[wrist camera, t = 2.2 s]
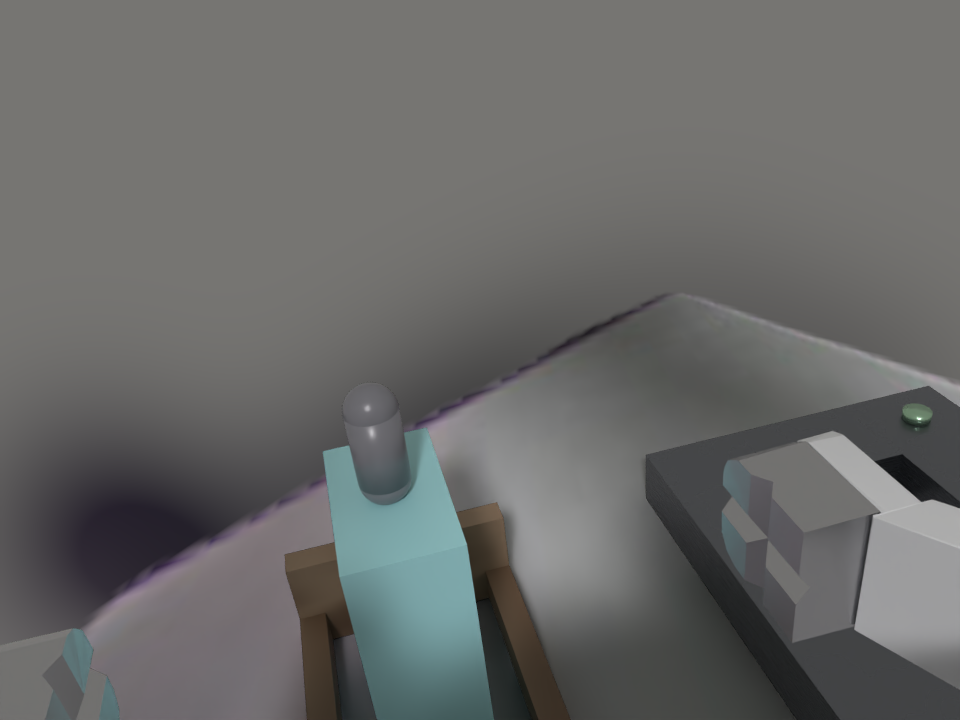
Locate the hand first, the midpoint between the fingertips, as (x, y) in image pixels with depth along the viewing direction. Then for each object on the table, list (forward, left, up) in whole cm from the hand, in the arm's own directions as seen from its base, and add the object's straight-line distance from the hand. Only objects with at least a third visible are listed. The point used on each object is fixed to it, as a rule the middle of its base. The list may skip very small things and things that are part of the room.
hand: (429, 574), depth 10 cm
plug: (0, +12, -18) cm, 22 cm away
